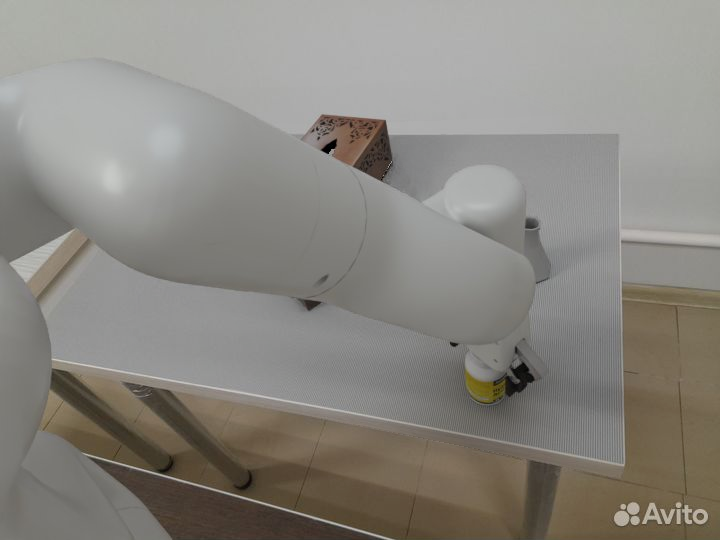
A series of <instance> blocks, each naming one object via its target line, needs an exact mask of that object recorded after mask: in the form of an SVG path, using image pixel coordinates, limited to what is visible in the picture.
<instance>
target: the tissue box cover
mask: <svg viewBox="0 0 720 540" xmlns="http://www.w3.org/2000/svg"><path fill="white" fill-rule="evenodd" d="M300 140H301V141H303V142H305V143H307V144H309V145H311V146H313V147H315V148H317V149H319V150H321V151H323V152H324V153H326V154H329V152H330V151H331V149H335V150H334V153H333V154H332V157H334V158H336V159H338V160H340V161H342V162H344V163H346V164H348V165H350V166H352V167H354V168H356V169H358V170H360V171H362V172H364V173H366V174H368V175H370V176H372V177H373V178H375V179H377V180H379V181H381V182H382V180H383V178H384V177H383V175H384V174H385V172H386V170H387V168H388V166H389V164H390V163H391V161H392V159H393V153H392V147H391V142H390V136H389V130H388V125H387V120H386V119H379V118H377V119H376V118H368V117H359V116H358V117H357V116H346V115H335V114H323V113H322V114H321V115H320V116H319V117H318V118H317V120H316V121H314V123H313V125H311V127H309V129H308V131H306V133H305V134H304V135H303V136H302V137H301V138H300ZM386 173H387V172H386ZM385 175H386V174H385ZM385 175H384V176H385ZM382 177H383V178H382ZM381 179H382V180H381Z"/></svg>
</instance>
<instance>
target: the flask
mask: <svg viewBox="0 0 720 540" xmlns="http://www.w3.org/2000/svg"><path fill="white" fill-rule="evenodd" d="M541 227H542V220H541V219H540V218H539V217H538V216H537V215H526V219H525V236H524V255H523V256H525V257H526V258H527V259H528V260H529V262H530V263H531V265H532V267H533V270H534V273H535V280H536V283H539V282H541V281H544V280H547V279H549V277H550V271H551V262H550V260H549V258H548V255H547V253H546V251H545V249H544V246H543V243H542V241H541V237H540V230H541Z"/></svg>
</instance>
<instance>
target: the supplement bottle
mask: <svg viewBox="0 0 720 540" xmlns="http://www.w3.org/2000/svg"><path fill="white" fill-rule="evenodd" d="M464 375H465V376H464V377H465V390H466V393H467V395H468V397H469V398H470V399H471V400H472V401H473V402H475V404H478V405H481V406H487V407H488V406H494V405H497V404H499V403H500V402H502V401H503V400H504V398H505V396H507V395H506V393H505V378H506V376H508V374H507V372H506V371H505V370H504V371H503V372H500V371H496V370H494V369H492V368H491V367H489V366H488V365H487V364H486V363H484V362H483V361H482V360H481V359H480V358H479V357H477V356H476V355H475V354H474V353H473V352H472V351H470V350H469V349H468V350H467V352H466V354H465V357H464Z"/></svg>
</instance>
